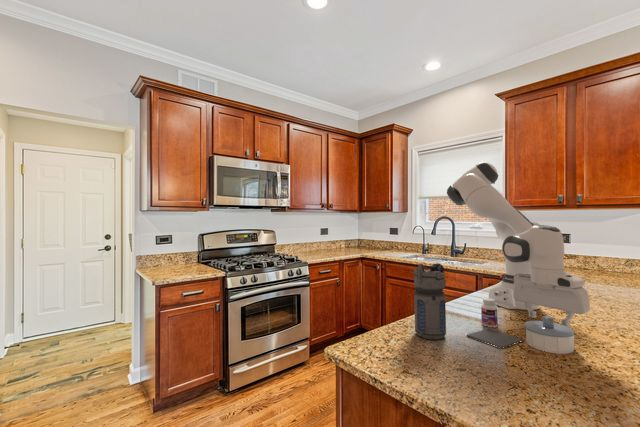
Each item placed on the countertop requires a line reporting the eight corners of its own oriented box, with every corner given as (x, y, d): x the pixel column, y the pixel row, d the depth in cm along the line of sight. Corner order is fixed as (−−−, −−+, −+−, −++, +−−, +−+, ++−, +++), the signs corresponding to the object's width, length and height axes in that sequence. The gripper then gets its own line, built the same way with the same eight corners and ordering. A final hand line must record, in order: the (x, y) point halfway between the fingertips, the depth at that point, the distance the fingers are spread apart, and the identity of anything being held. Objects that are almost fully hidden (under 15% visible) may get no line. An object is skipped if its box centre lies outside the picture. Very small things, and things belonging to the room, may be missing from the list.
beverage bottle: (456, 334, 109) (454, 262, 109) (433, 344, 101) (431, 266, 101) (430, 326, 117) (429, 259, 117) (407, 335, 109) (406, 263, 110)
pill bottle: (479, 325, 117) (479, 299, 118) (483, 322, 121) (483, 296, 122) (495, 328, 114) (495, 302, 114) (499, 325, 118) (499, 299, 118)
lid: (516, 327, 101) (515, 315, 101) (537, 320, 107) (537, 309, 107) (560, 340, 90) (560, 327, 90) (582, 332, 96) (582, 319, 96)
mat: (466, 336, 107) (466, 334, 107) (488, 330, 113) (488, 328, 113) (501, 349, 96) (501, 347, 96) (523, 341, 102) (523, 339, 102)
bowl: (518, 343, 101) (517, 327, 101) (539, 336, 106) (538, 321, 106) (561, 357, 90) (560, 339, 90) (581, 348, 96) (581, 332, 96)
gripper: (508, 273, 106) (509, 314, 106) (581, 283, 88) (582, 333, 88) (519, 271, 109) (520, 311, 109) (591, 281, 91) (593, 329, 91)
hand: (548, 321), depth 98 cm, fingers open, 8 cm apart
